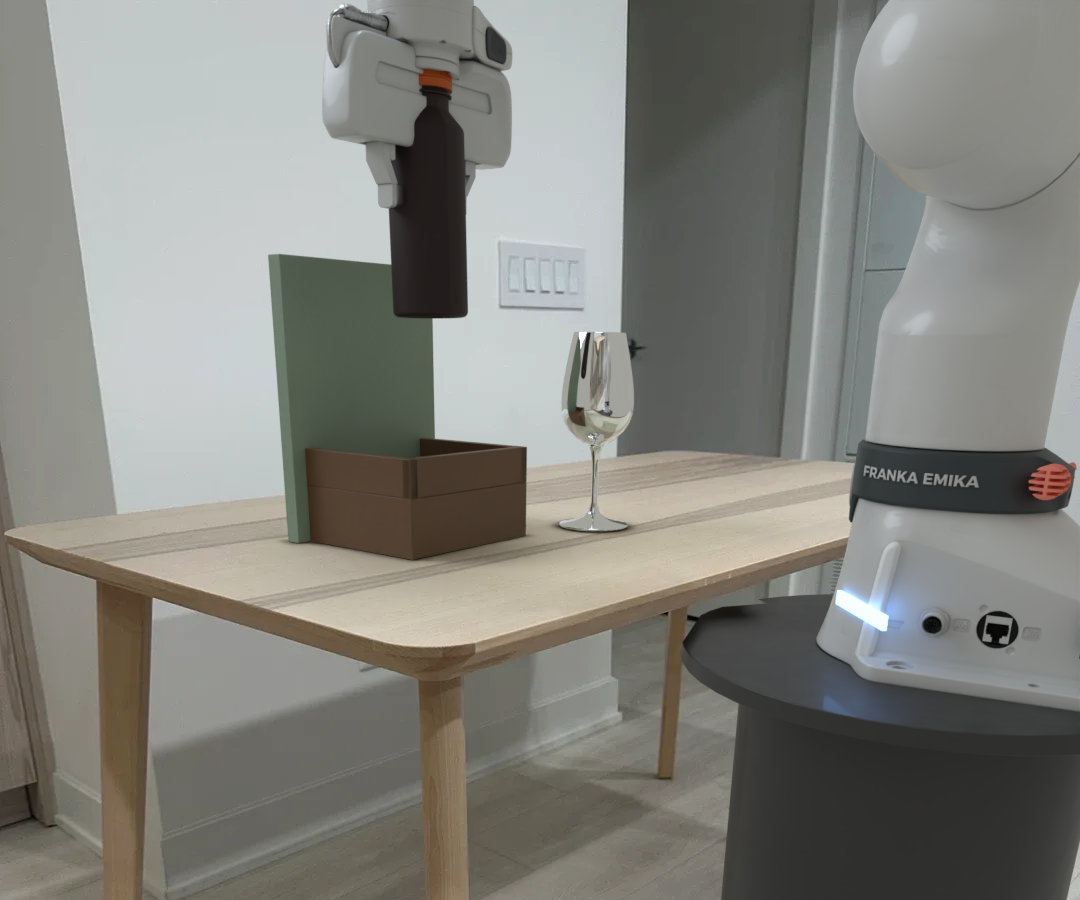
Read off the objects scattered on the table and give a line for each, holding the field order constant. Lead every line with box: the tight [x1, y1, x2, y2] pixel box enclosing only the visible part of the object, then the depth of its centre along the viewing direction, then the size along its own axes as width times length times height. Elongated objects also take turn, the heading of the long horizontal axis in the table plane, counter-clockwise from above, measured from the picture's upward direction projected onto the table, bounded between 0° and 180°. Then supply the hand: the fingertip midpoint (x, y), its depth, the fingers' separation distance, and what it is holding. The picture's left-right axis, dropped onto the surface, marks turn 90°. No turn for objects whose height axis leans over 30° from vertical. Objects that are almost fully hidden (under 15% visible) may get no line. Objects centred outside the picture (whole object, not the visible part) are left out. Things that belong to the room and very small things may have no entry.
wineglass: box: [558, 331, 635, 533], centre depth 108 cm, size 8×8×20 cm
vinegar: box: [388, 57, 469, 319], centre depth 89 cm, size 7×7×20 cm
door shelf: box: [267, 253, 528, 561], centre depth 99 cm, size 16×20×26 cm
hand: (424, 213), depth 90 cm, fingers closed on vinegar, 7 cm apart
